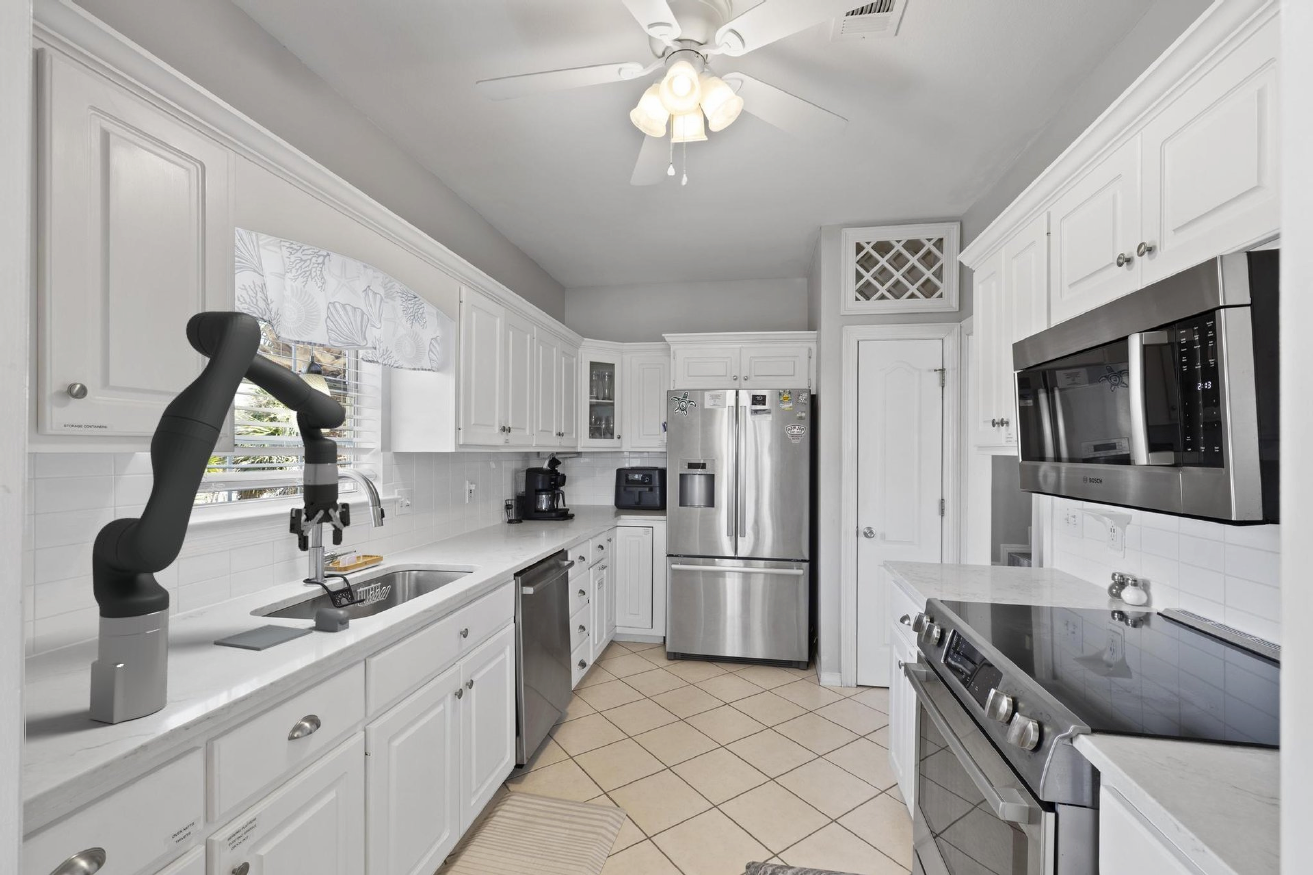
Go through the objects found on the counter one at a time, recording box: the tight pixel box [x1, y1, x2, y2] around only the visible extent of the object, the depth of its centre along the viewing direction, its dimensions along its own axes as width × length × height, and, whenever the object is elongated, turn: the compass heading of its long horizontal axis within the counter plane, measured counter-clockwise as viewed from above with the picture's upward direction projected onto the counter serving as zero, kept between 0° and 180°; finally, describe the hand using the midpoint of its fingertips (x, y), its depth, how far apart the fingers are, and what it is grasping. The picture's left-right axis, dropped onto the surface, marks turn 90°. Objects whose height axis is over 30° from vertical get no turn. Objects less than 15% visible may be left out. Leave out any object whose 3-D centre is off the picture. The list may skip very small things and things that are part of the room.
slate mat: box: [213, 624, 314, 651], centre depth 144 cm, size 14×14×1 cm
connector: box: [313, 607, 350, 633], centre depth 152 cm, size 4×8×5 cm, turn 73°
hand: (321, 547), depth 148 cm, fingers open, 8 cm apart
